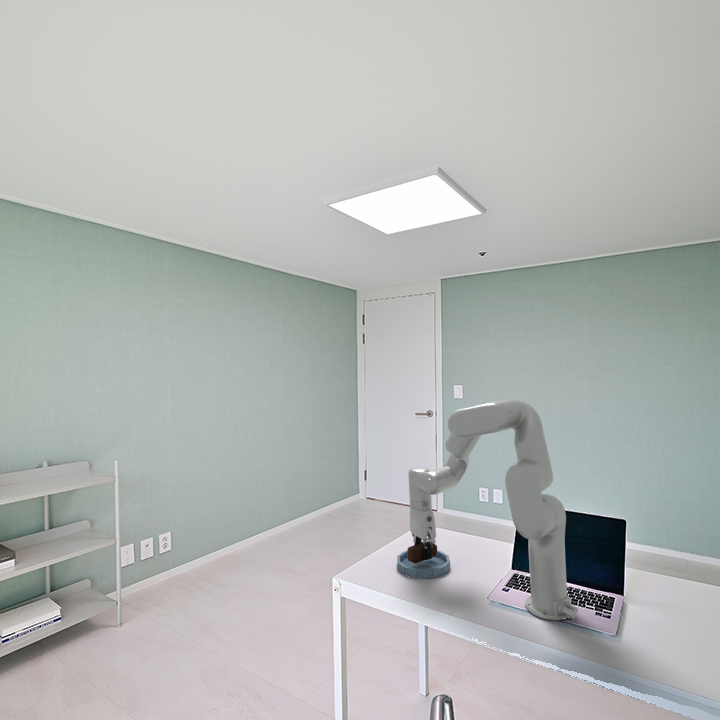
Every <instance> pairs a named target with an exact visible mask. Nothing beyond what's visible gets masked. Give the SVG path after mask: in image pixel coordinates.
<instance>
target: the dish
mask: <svg viewBox="0 0 720 720" xmlns="http://www.w3.org/2000/svg"><path fill="white" fill-rule="evenodd" d="M396 565H397V566H396V567H397V570H398V572H399V571H400V572H399V573H401V574H402V573H403V574H402V575H404V576H406V575H407V576H406V577H408V576H410V577H409V578H412V577H414V578H413V579H418V578H420V580H422V579H423V580H429V579H431V580H432V579H436V578H440V577H443V576H445V575H447V574H448V573H449V572H450V570H451V569H450V568H451V560H450V556H449V555H448V554H447V553H445V552H443V551H442V550H438V549H437V553H436V556H435V557H432V559H429V560H424V561H421V562H418V563H416V564H415V563H413V562H410V561H408V551H407V550H405V551H402V552H401V553H400V554H398V555H397V556H396Z"/></svg>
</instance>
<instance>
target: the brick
mask: <svg viewBox="0 0 720 720" xmlns="http://www.w3.org/2000/svg"><path fill="white" fill-rule="evenodd" d="M427 542H428V541H426V544H427ZM423 548H424V545H423V543H420V544H417V545H410V546H408V548H407V550H406V551H408V561H410V562H413V563H415V564H416V563H418V562H421V561H424V560H423ZM437 550H438V545H437V544H436V543H434V544H433V546H432V557H435V556H436V553H437Z"/></svg>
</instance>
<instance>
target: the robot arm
mask: <svg viewBox="0 0 720 720" xmlns="http://www.w3.org/2000/svg"><path fill="white" fill-rule="evenodd" d="M447 428H448V429H447V430H449V432H450V434H449V436H448V437H447V439H446V441H445V443H444V444H445V445H444V446H445V449H446V451H448V453H450V455H449V457H448V459H447V461H446V463H445V464H444V465H443V467H440V468H437V469H434V470H431V471H430V469H429V468H427V467H425V466H416V467H411V468H410V469H409V470H408V490H409V493H408V494H409V495H408V496H409V509H410V510H409V531H410V533H411V535H412V538H413V540H412V541H413V543H414V545H417V544H420V543H423V545H424V548H423V560H429V559H432V546H433V544H436V543H437V541H436V538H437V528H436V520H435V514H434V509H433V506H432V505H433V504H432V495H433V496H435V495H439V494H442V493H444V492H446V491H449V490H451V489H454V487H456V486H457V485H458V484H459V482H460V481H461V479H462V478H463V476H464V475H465V473H466V472H467V470H468V467H469V462H470V461H469V459H470V458H469V457H470V455H471V453H472V451H473V450H474V448H475V446H476V444H477V443H478V442H479V440H480V438H481V437H482V435H489V434H495V433H499V432H503V431H507V430H510V429H513V430H514V441H513V442H514V448H515V453H516V460H517V461H516V462H515V463H513V464H511V466H509V468H508V469H507V472H506V473H505V480H504V481H505V483H504V484H505V489H506V490H505V491H506V495H507V499H508V500H507V501H508V504H509V509H510V514H511V519H512V522H513V525H514V527H515V529H516V530H517V531H516V532H518V533H519V534H520V535H521V536H522V537H523V538H524V539H527V540H528V546H527V547H528V560H529V561H528V562H529V563H528V564H529V584H530V596H528V597H527V598H526V599H525V607H526V606H527V608H528V609H529V610H530V611H531V612H530V614H531V615H534V616H536V617H538V618H540V619H543V620H544V619H545V620H548V621H561V620H560V619H563V618H568V617H570V618H571V619H573V620H574V619H576V617H577V614H578V613H579V608H578V607H576V606H575V605H573V604H572V601H571V597H570V596H569V595H568V589H567V588H568V587H567V566H566V545H565V536H566V525H567V514H566V510H565V507H564V504H563V503H562V501H560V499H559V498H558V497H556V496H554V495H552V494H549V493H543V494H542V492H543V491H545V490H547V489H548V488H550V486H552V484H553V481H554V472H553V468H552V465H551V464H552V463H551V460H550V455H549V451H548V447H547V443H546V442H547V441H546V439H545V432H544V428H543V423H542V420H541V417H540V416H539V413H538V412H537V410H536V409H535V408H534V407H533V406H532V405H530V404H528V403H527V402H525V401H521V400H519V399H504V400H499V401H493V402H488V403H484V404H479V405H475V406H472V407H465V408H459V409H457V410H454V411H453V412H452V413H451V414H450V415H449V417H448V419H447ZM426 541H428V542H427V544H426ZM529 605H530V606H529ZM527 608H526V609H527ZM568 619H569V618H568Z"/></svg>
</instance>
